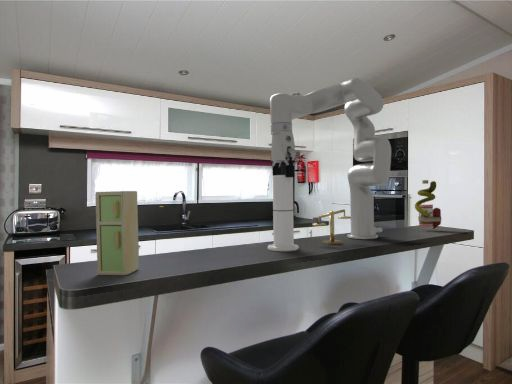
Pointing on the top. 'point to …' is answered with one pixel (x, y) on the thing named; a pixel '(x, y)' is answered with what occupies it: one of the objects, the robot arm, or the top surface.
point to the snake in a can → (428, 207)
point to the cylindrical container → (283, 211)
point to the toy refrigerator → (117, 232)
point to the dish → (283, 248)
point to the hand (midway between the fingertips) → (283, 177)
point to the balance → (318, 223)
